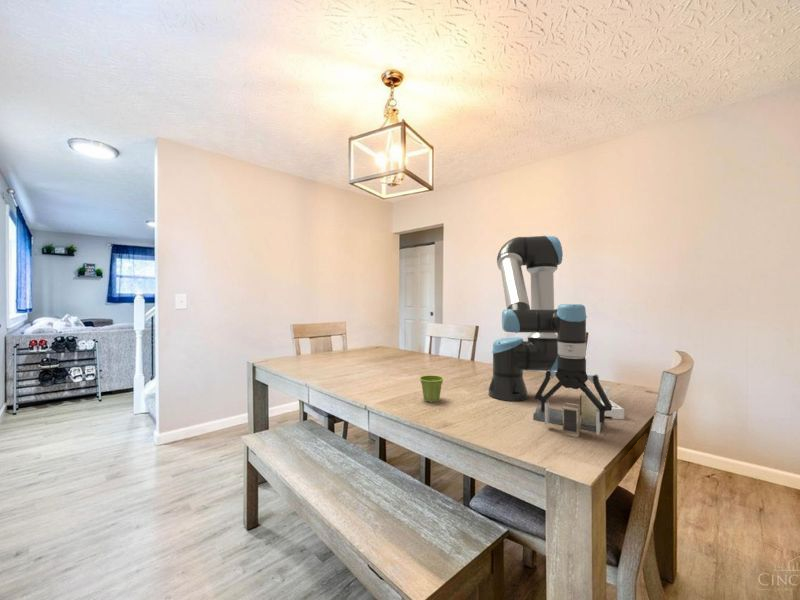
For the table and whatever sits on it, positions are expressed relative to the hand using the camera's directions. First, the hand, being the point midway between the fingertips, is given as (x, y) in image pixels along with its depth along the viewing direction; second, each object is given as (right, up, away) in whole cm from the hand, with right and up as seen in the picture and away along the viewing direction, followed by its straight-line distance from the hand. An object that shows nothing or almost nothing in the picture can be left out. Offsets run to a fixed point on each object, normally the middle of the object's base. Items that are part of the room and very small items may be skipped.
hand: (571, 428), depth 100 cm
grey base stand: (+4, -1, +10) cm, 10 cm away
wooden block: (0, -1, 0) cm, 1 cm away
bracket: (+20, -2, +18) cm, 27 cm away
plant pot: (-38, -2, +32) cm, 50 cm away
